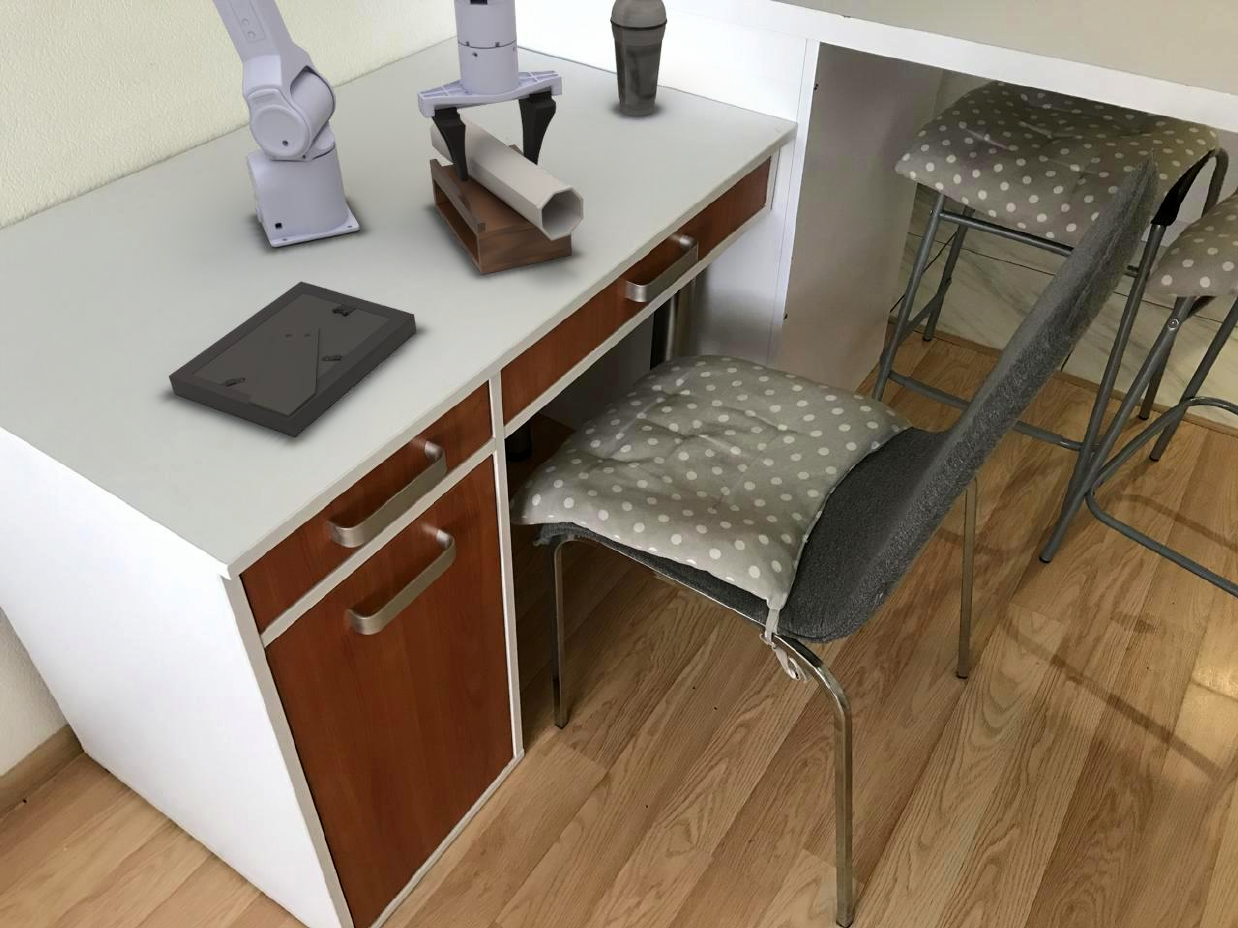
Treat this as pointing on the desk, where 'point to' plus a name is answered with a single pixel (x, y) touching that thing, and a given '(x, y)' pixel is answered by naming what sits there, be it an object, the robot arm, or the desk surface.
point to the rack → (490, 224)
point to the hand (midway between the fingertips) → (496, 170)
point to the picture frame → (294, 357)
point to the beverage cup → (638, 52)
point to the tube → (517, 181)
